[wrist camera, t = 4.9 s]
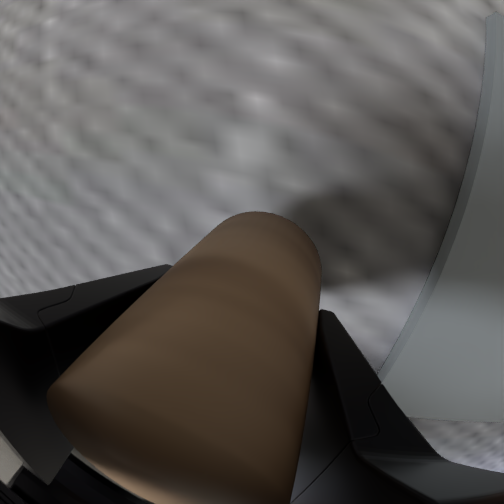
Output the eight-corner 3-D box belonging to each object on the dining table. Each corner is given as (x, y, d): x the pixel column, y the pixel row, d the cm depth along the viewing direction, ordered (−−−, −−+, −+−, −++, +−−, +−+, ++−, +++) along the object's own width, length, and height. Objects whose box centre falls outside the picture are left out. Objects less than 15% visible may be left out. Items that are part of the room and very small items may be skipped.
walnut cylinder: (302, 335, 12) (257, 536, 4) (196, 303, 12) (79, 463, 5) (337, 230, 10) (338, 465, 3) (210, 198, 10) (15, 332, 3)
